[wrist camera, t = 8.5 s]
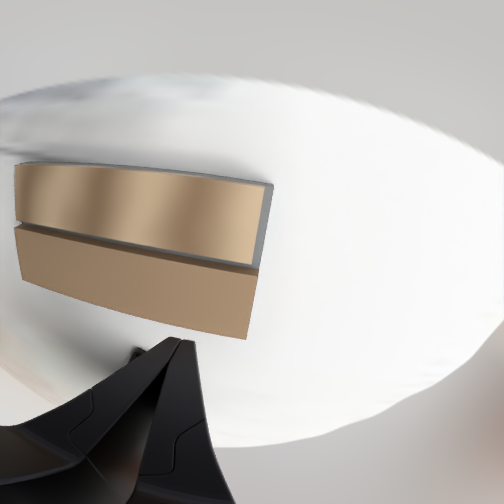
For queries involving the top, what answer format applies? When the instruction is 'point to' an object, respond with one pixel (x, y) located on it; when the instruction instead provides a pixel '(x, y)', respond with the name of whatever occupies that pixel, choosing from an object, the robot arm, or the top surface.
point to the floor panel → (145, 273)
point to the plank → (143, 207)
